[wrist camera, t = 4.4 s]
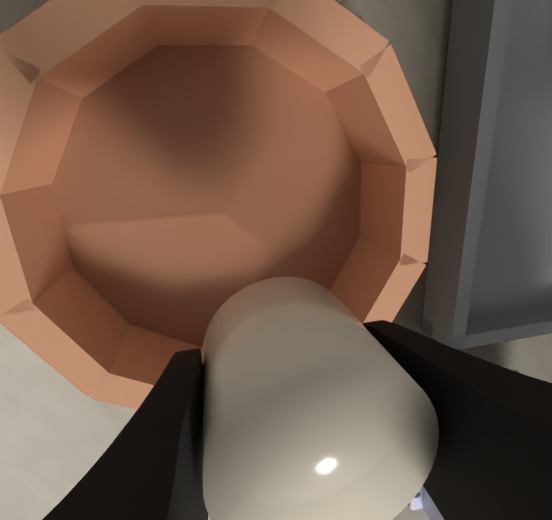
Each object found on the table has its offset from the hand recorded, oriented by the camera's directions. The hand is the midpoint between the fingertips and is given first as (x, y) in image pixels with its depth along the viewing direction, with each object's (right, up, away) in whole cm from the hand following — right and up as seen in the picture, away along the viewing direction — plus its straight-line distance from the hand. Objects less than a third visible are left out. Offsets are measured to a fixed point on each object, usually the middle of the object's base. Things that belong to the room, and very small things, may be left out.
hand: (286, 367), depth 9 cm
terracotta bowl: (-3, +5, +7) cm, 9 cm away
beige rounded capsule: (0, 0, +1) cm, 1 cm away
